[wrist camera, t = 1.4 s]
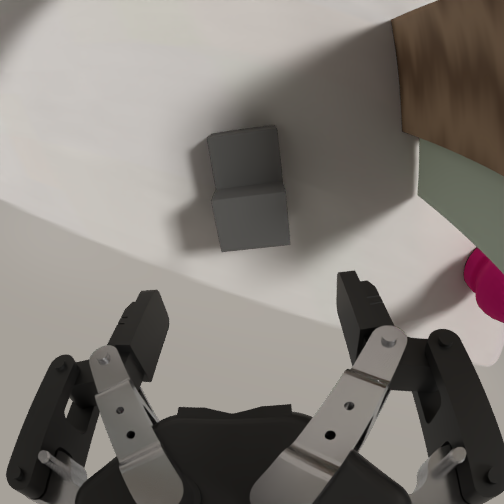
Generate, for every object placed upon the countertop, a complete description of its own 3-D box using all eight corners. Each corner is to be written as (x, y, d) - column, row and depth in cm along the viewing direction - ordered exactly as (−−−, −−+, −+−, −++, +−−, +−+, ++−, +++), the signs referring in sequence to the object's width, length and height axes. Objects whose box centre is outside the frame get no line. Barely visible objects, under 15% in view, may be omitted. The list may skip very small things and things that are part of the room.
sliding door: (414, 58, 17) (526, 54, 6) (426, 59, 17) (538, 60, 6) (417, 195, 23) (504, 274, 12) (428, 194, 23) (516, 271, 12)
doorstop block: (212, 133, 22) (200, 143, 18) (274, 125, 22) (278, 132, 18) (228, 223, 26) (221, 252, 22) (285, 217, 26) (290, 244, 22)
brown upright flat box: (390, 19, 16) (527, -24, 3) (426, 25, 16) (567, 6, 2) (402, 131, 21) (543, 199, 8) (436, 132, 21) (575, 199, 7)
